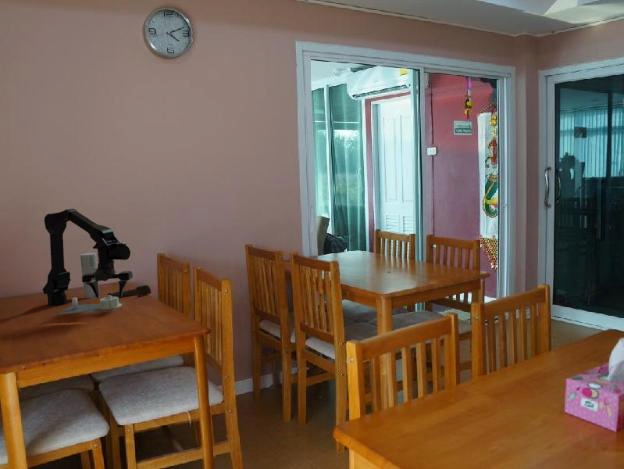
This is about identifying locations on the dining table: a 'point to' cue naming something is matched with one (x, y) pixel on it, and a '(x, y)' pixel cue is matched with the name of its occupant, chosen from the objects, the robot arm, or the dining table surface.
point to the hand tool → (133, 292)
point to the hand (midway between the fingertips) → (109, 297)
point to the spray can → (88, 267)
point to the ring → (109, 302)
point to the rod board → (88, 307)
